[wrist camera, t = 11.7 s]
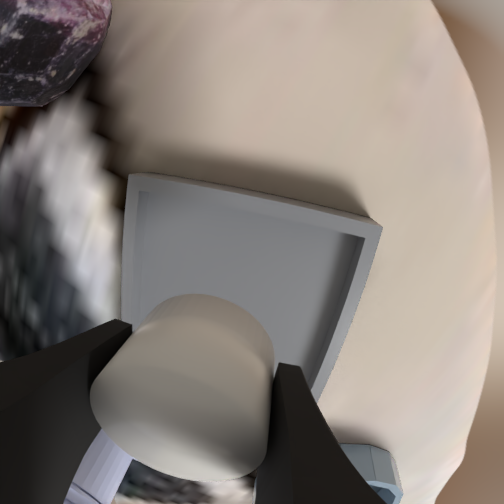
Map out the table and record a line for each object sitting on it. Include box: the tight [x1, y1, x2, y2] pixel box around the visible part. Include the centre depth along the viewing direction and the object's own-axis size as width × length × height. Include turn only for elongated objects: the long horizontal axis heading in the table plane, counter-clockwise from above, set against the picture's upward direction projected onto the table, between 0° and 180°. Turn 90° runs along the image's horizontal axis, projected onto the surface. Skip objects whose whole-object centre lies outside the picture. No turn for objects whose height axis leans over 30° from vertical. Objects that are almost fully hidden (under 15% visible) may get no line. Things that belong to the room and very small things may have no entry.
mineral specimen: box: [0, 0, 112, 106], centre depth 9 cm, size 10×10×10 cm
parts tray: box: [121, 172, 383, 403], centre depth 17 cm, size 12×15×2 cm
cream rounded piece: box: [90, 294, 275, 482], centre depth 8 cm, size 4×4×3 cm
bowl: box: [252, 443, 403, 504], centre depth 21 cm, size 14×14×4 cm
